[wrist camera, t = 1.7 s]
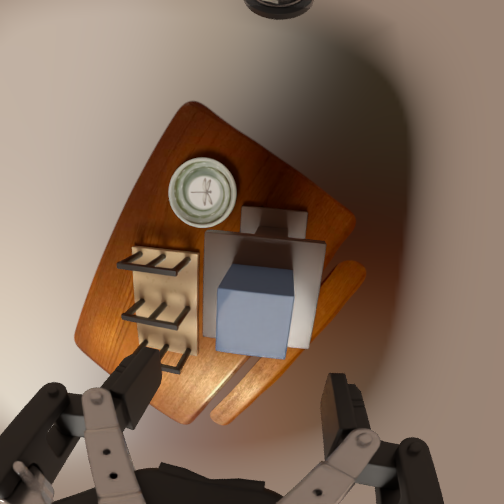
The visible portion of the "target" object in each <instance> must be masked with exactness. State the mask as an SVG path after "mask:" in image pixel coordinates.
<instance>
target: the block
mask: <svg viewBox="0 0 504 504" xmlns="http://www.w3.org/2000/svg"><path fill="white" fill-rule="evenodd" d="M294 298H295V294H294V276H293V270H287V269H278V268H268V267H259V266H249V265H240V264H232V265H231V267H230V268H229V270H228V271H227V273H226V275H225V276H224V278H223V280H222V281H221V283H220V285H219V286H218V288H217V315H216V351H221V352H227V353H234V354H242V355H249V356H258V357H266V358H276V359H285V357H286V351H287V345H288V338H289V332H290V326H291V319H292V312H293V305H294Z"/></svg>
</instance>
